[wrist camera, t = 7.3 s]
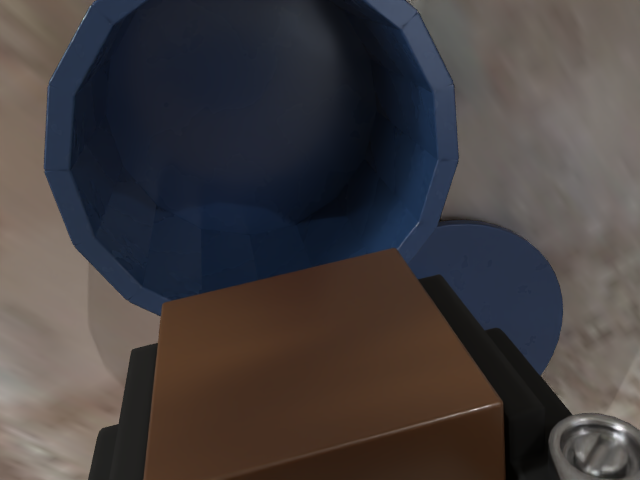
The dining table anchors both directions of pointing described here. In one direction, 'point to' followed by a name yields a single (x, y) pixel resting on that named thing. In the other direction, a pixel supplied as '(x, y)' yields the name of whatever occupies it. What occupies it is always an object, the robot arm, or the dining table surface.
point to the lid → (498, 283)
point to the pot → (246, 139)
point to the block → (320, 382)
